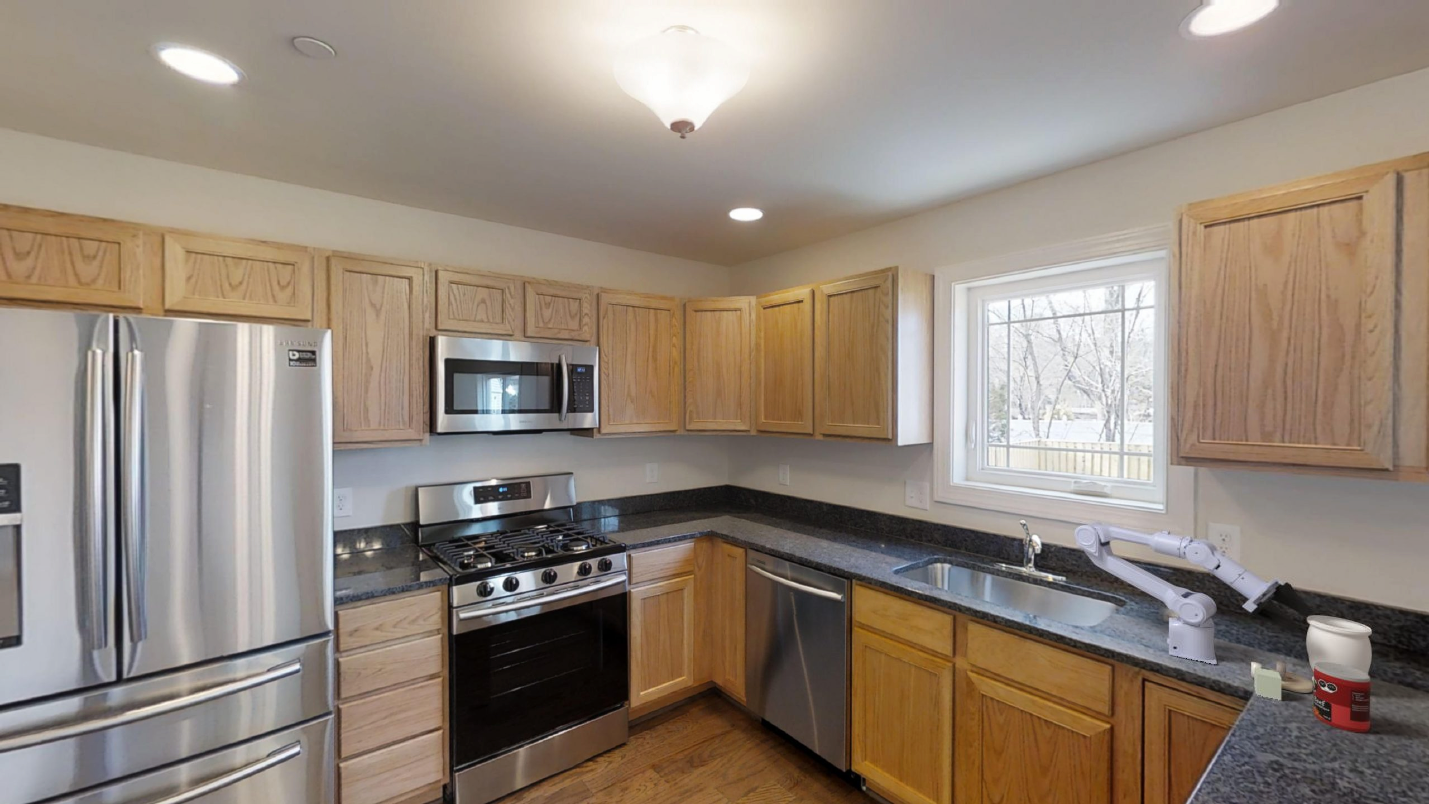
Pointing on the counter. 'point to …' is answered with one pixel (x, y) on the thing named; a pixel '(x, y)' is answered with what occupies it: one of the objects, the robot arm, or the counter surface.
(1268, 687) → the link block
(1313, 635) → the jar
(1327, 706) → the canned food
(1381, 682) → the counter surface
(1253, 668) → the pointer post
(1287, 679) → the disc
